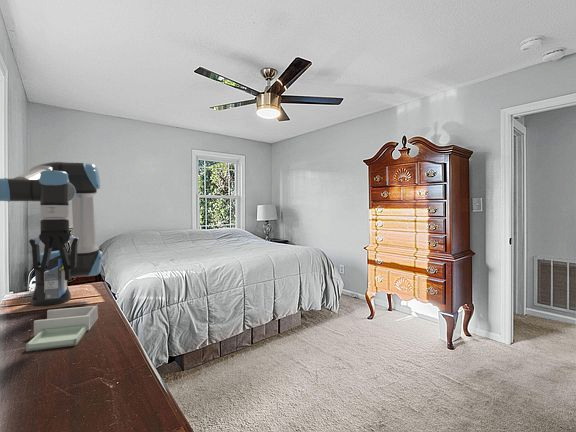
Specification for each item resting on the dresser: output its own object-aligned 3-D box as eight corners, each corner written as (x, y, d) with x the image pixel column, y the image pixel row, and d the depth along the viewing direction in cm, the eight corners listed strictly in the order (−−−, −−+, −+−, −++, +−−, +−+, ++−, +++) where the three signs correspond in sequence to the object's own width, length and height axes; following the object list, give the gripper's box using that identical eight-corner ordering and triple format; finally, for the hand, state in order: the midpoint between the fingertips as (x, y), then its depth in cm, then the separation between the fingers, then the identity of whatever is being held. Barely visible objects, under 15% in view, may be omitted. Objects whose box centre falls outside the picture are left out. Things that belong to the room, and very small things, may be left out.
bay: (48, 323, 122) (48, 310, 122) (97, 318, 127) (97, 305, 127) (34, 336, 109) (33, 321, 109) (89, 330, 115) (89, 316, 115)
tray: (42, 335, 110) (42, 329, 110) (86, 330, 114) (86, 325, 114) (25, 351, 98) (25, 344, 97) (76, 345, 102) (76, 338, 102)
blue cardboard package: (52, 293, 109) (52, 256, 109) (66, 292, 110) (66, 255, 110) (44, 299, 101) (43, 259, 101) (59, 298, 102) (59, 259, 102)
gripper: (17, 219, 99) (18, 295, 99) (82, 218, 105) (82, 291, 105) (28, 218, 106) (29, 290, 106) (88, 218, 112) (88, 286, 112)
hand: (55, 290), depth 106 cm, fingers closed on blue cardboard package, 4 cm apart
